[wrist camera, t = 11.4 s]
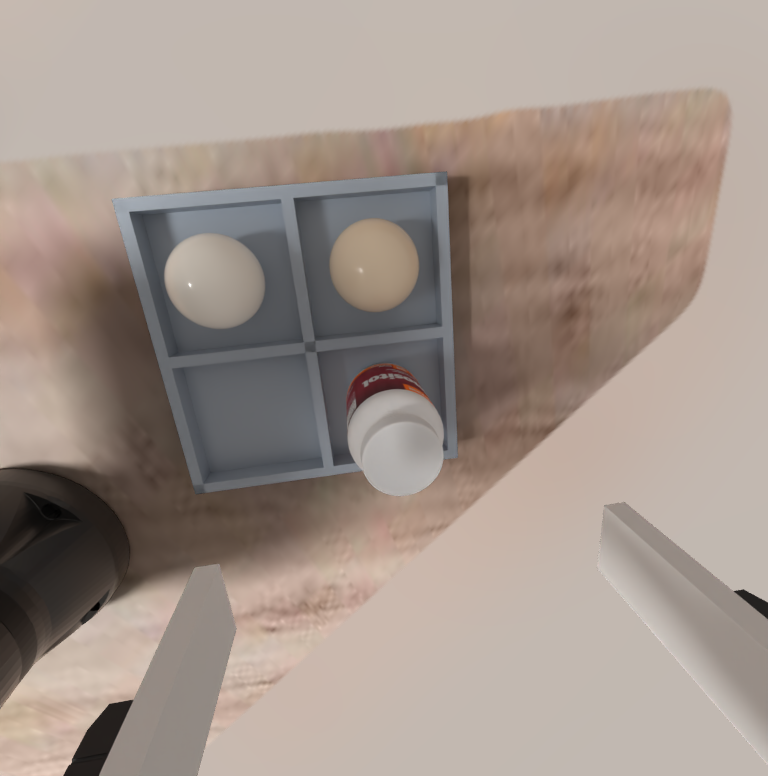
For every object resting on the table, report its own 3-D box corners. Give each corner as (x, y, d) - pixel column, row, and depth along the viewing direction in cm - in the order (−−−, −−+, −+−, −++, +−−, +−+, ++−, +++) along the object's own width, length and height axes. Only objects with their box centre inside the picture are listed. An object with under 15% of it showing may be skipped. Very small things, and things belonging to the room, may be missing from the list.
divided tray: (206, 477, 33) (195, 494, 31) (132, 205, 27) (111, 198, 24) (449, 443, 35) (457, 457, 33) (437, 179, 28) (447, 171, 26)
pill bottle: (426, 366, 32) (470, 416, 21) (412, 435, 33) (445, 512, 23) (351, 355, 31) (358, 402, 20) (340, 426, 32) (341, 504, 22)
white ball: (196, 326, 29) (162, 341, 23) (175, 240, 27) (132, 233, 21) (278, 317, 29) (264, 330, 24) (263, 232, 27) (244, 224, 22)
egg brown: (335, 311, 30) (335, 322, 24) (324, 226, 28) (321, 217, 22) (413, 303, 30) (430, 312, 24) (407, 219, 28) (425, 207, 22)
